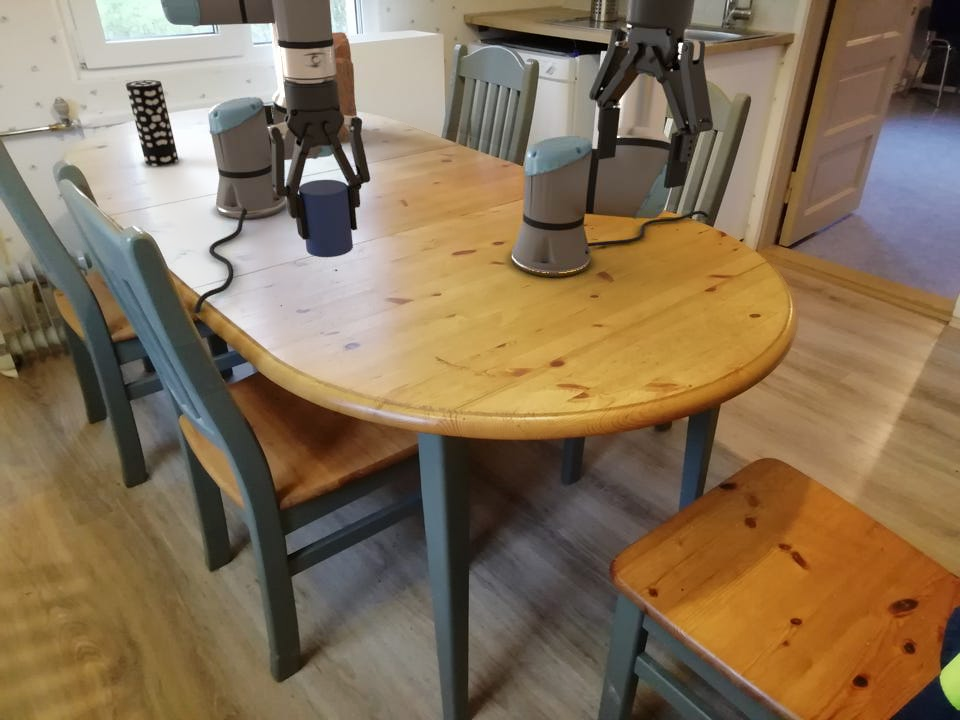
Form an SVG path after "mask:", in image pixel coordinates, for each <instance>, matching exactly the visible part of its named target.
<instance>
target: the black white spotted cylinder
mask: <svg viewBox="0 0 960 720" xmlns="http://www.w3.org/2000/svg"><path fill="white" fill-rule="evenodd" d="M125 87H126V91H127V95H128V99H129V103H130V107H131V110H132V115H133V118H134V122H135V123H134V124H135V127H136V130H137V134H138V139H139V143H140V146H141V150H142V155H143V158H144V163H145V164H146V165H147V166H151V167H164V166H170V165H174V164H176V163H178V162H179V155H178V150H177V146H176V142H175V137H174V133H173V128H172V125H171V121H170V116H169V111H168V107H167V103H166V98H165V93H164V89H163V84H162V81H161V80H155V79H154V80H153V79H151V80H150V79H145V80H144V79H141V80H134V81H130V82H129V81H128V82H127V83H126V84H125Z"/></svg>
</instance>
